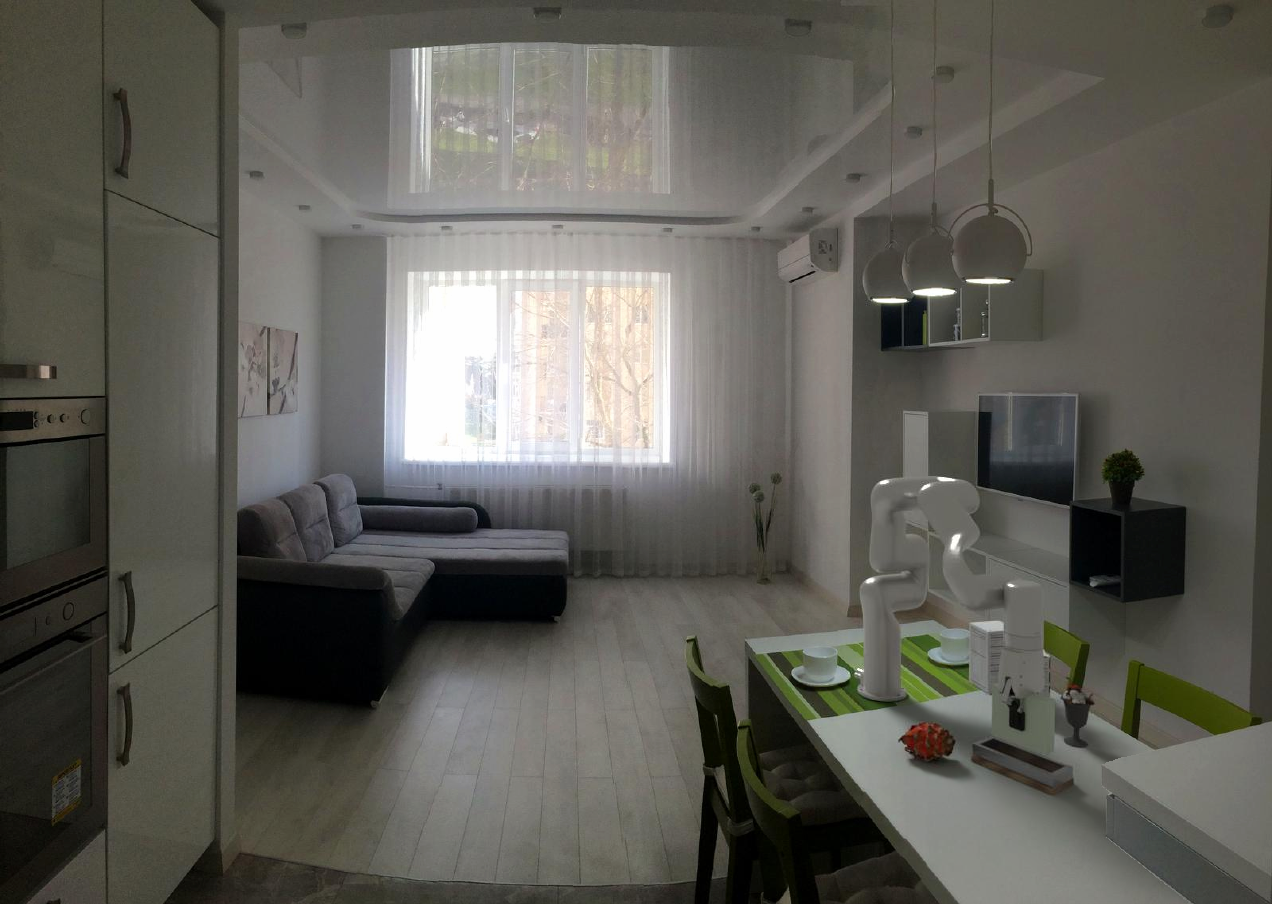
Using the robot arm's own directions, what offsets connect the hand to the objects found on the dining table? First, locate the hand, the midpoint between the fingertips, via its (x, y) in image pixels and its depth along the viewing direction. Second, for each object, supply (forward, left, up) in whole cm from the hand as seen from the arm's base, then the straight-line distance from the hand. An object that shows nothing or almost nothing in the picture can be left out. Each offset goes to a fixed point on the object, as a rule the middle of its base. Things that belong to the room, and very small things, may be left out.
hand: (1022, 726), depth 168 cm
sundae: (-1, +23, -10) cm, 25 cm away
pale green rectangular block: (0, 0, -4) cm, 4 cm away
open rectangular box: (0, 0, -10) cm, 10 cm away
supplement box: (-32, +39, -10) cm, 52 cm away
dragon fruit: (-16, -10, -10) cm, 21 cm away
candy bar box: (-16, +31, -10) cm, 36 cm away
